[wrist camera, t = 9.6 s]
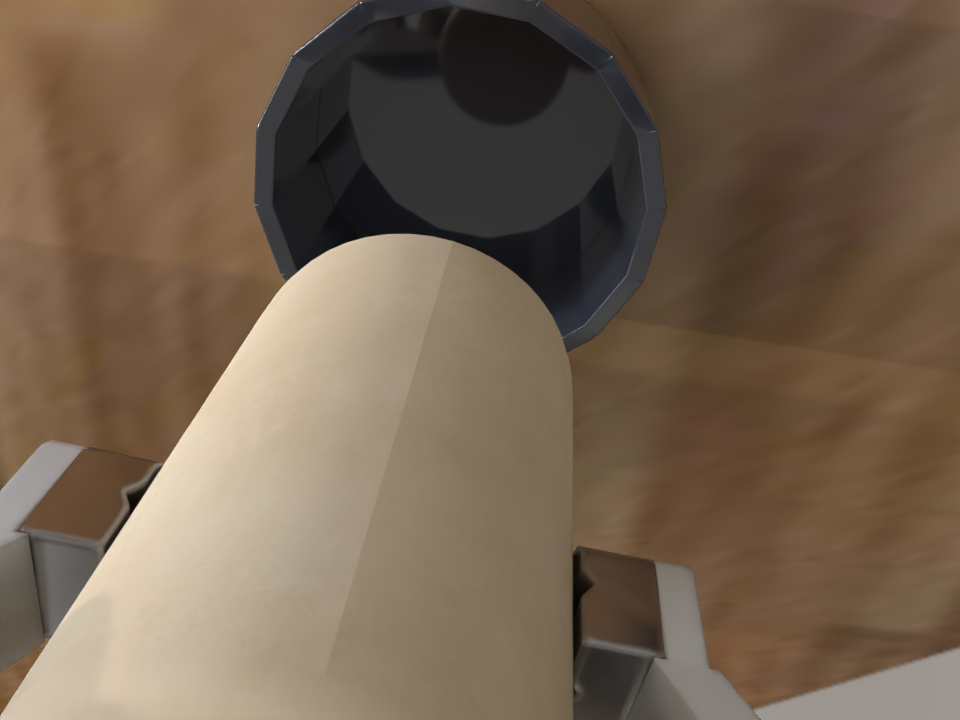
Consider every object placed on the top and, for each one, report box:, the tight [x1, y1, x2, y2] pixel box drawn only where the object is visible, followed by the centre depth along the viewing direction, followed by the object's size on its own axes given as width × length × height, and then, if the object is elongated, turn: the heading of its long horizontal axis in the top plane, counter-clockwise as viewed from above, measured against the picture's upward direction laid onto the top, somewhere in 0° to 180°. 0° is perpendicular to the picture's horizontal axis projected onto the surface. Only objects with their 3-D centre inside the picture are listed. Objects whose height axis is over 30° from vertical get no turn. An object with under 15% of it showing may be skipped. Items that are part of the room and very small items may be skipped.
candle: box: [0, 234, 573, 720], centre depth 11 cm, size 6×6×10 cm
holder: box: [254, 0, 667, 352], centre depth 23 cm, size 10×10×5 cm
